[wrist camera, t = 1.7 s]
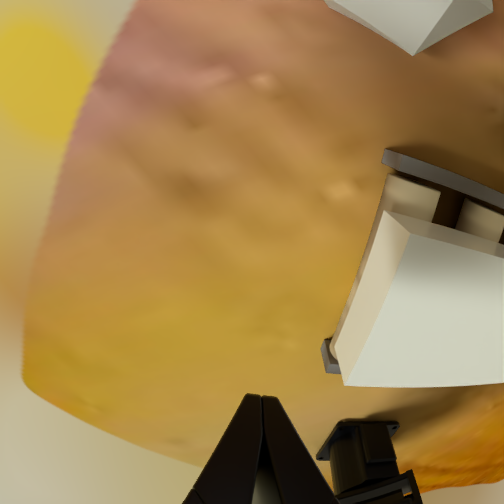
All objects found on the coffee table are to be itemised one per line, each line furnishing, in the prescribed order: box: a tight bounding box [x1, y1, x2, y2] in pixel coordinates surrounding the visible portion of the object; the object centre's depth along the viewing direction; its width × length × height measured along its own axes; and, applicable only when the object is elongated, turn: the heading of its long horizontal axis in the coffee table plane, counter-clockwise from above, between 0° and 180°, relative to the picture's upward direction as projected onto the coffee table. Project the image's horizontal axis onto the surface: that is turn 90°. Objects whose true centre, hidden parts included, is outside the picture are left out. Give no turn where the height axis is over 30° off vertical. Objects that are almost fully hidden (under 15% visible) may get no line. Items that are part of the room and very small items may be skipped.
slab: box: [334, 210, 504, 387], centre depth 14 cm, size 8×16×3 cm, turn 80°
